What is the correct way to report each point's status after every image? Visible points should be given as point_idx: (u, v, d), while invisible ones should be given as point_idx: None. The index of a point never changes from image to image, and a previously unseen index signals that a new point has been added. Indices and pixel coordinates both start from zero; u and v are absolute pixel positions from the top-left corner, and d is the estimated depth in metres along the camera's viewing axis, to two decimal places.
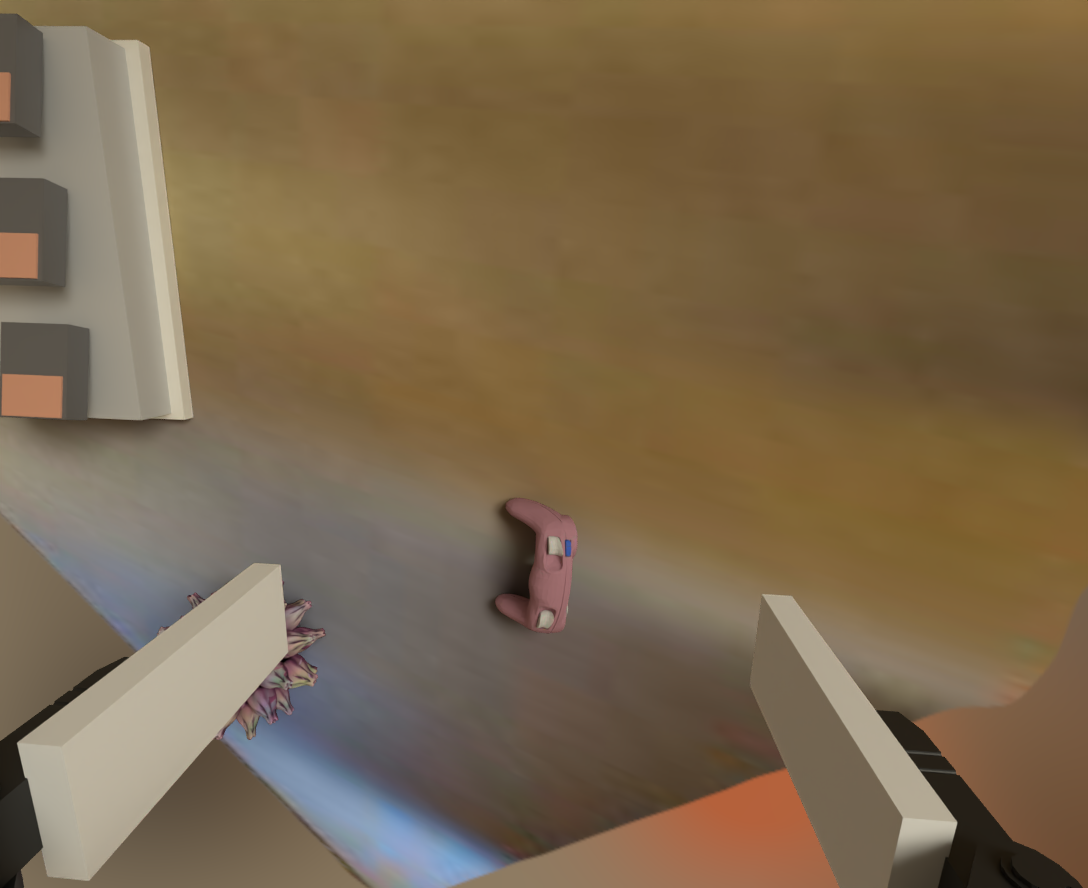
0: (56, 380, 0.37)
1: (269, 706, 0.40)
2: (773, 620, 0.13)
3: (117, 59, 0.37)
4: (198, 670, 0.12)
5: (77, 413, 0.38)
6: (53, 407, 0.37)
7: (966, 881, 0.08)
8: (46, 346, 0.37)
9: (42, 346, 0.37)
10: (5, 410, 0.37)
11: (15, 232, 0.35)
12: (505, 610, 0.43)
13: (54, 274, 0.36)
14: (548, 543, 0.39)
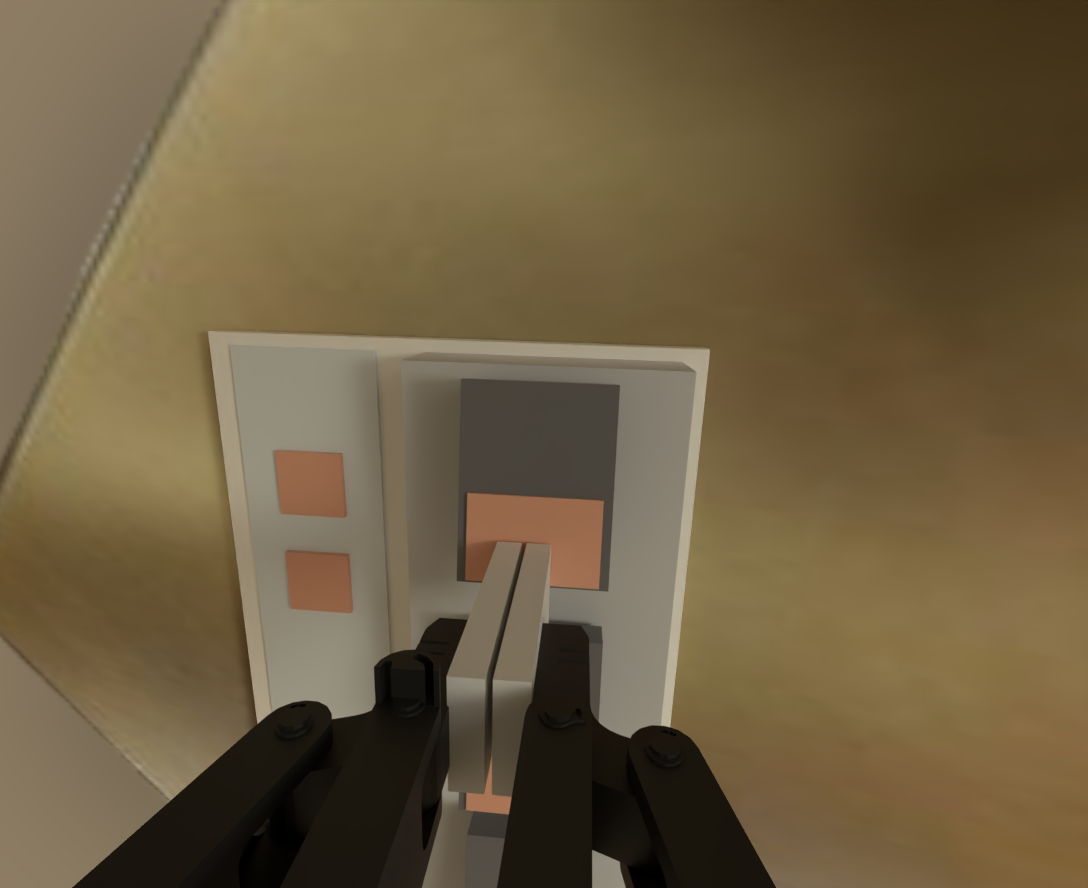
0: None
1: None
2: (523, 561, 0.16)
3: None
4: (505, 629, 0.14)
5: None
6: None
7: None
8: None
9: None
10: None
11: None
12: None
13: None
14: None
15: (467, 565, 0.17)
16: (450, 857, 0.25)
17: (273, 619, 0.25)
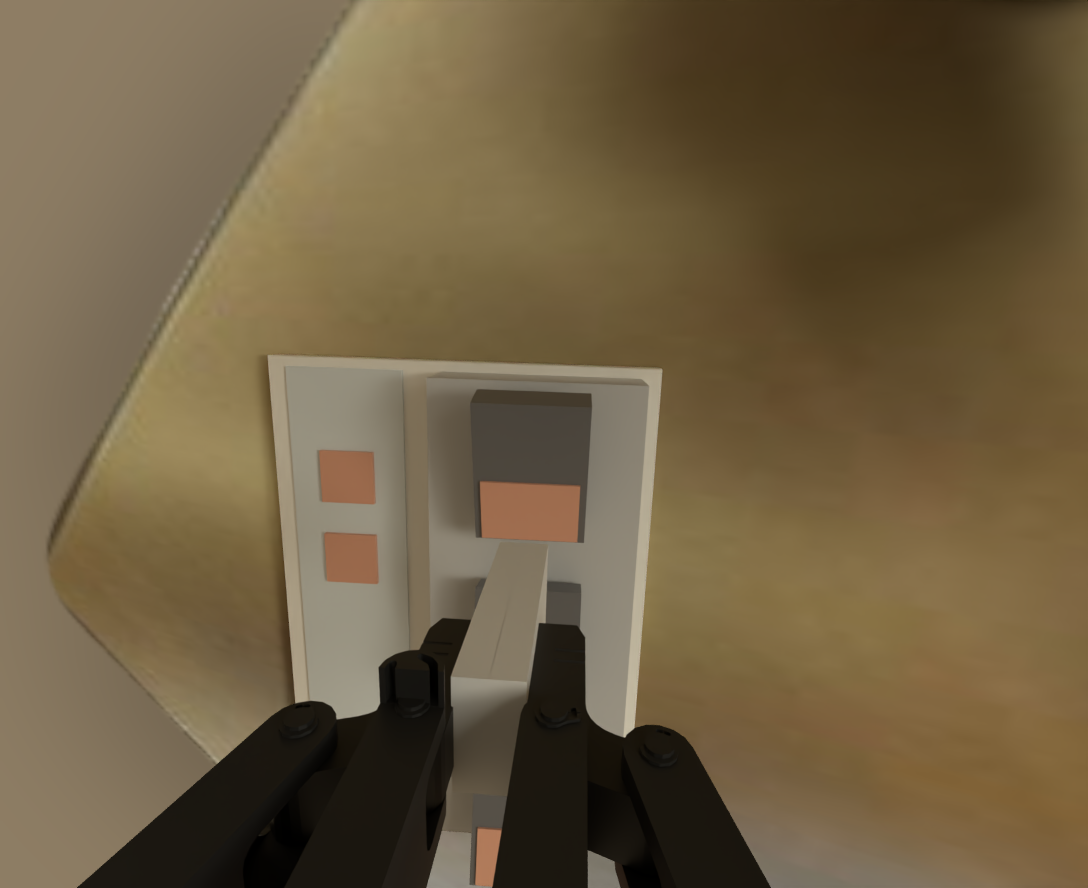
0: None
1: None
2: (520, 561, 0.16)
3: None
4: None
5: None
6: None
7: None
8: None
9: None
10: (478, 876, 0.27)
11: None
12: None
13: None
14: None
15: (482, 528, 0.24)
16: None
17: (311, 591, 0.31)
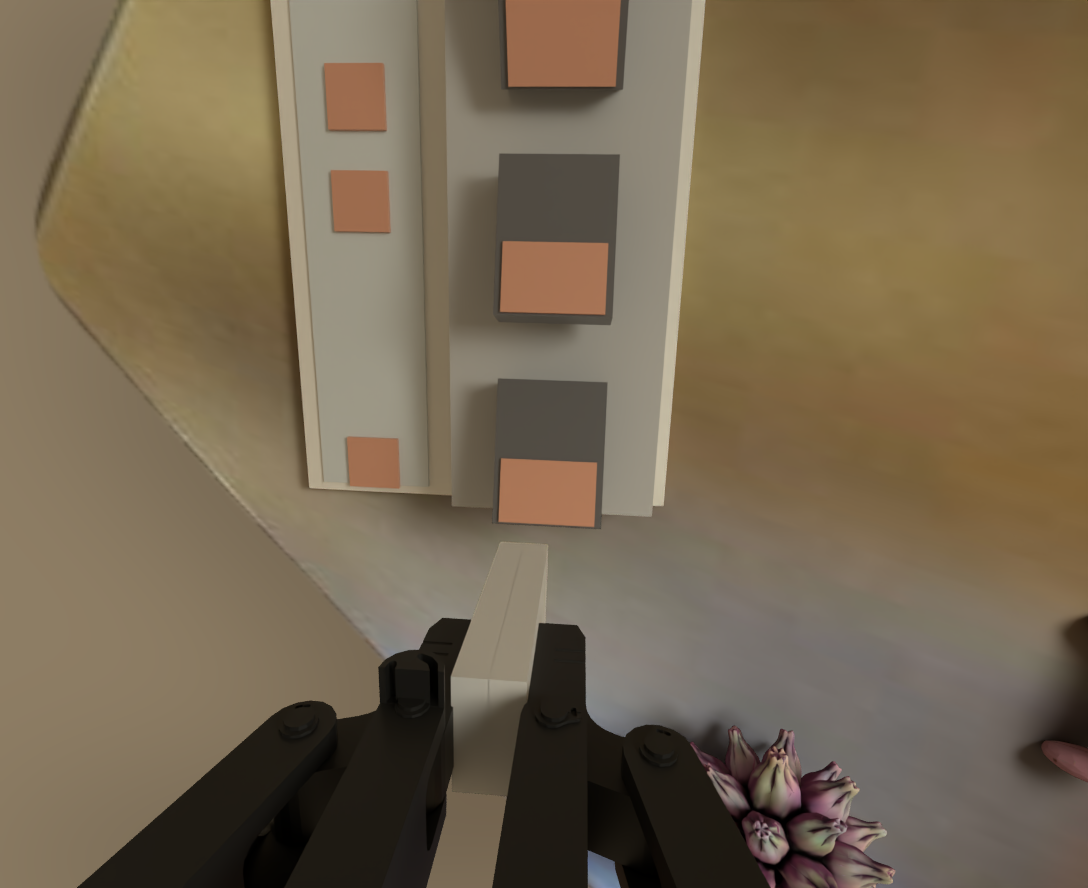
0: (588, 469, 0.24)
1: None
2: (520, 561, 0.16)
3: None
4: None
5: None
6: (583, 510, 0.24)
7: None
8: (571, 416, 0.24)
9: (565, 415, 0.24)
10: (501, 513, 0.24)
11: (568, 242, 0.22)
12: None
13: None
14: None
15: (509, 72, 0.21)
16: (479, 449, 0.27)
17: (317, 247, 0.28)
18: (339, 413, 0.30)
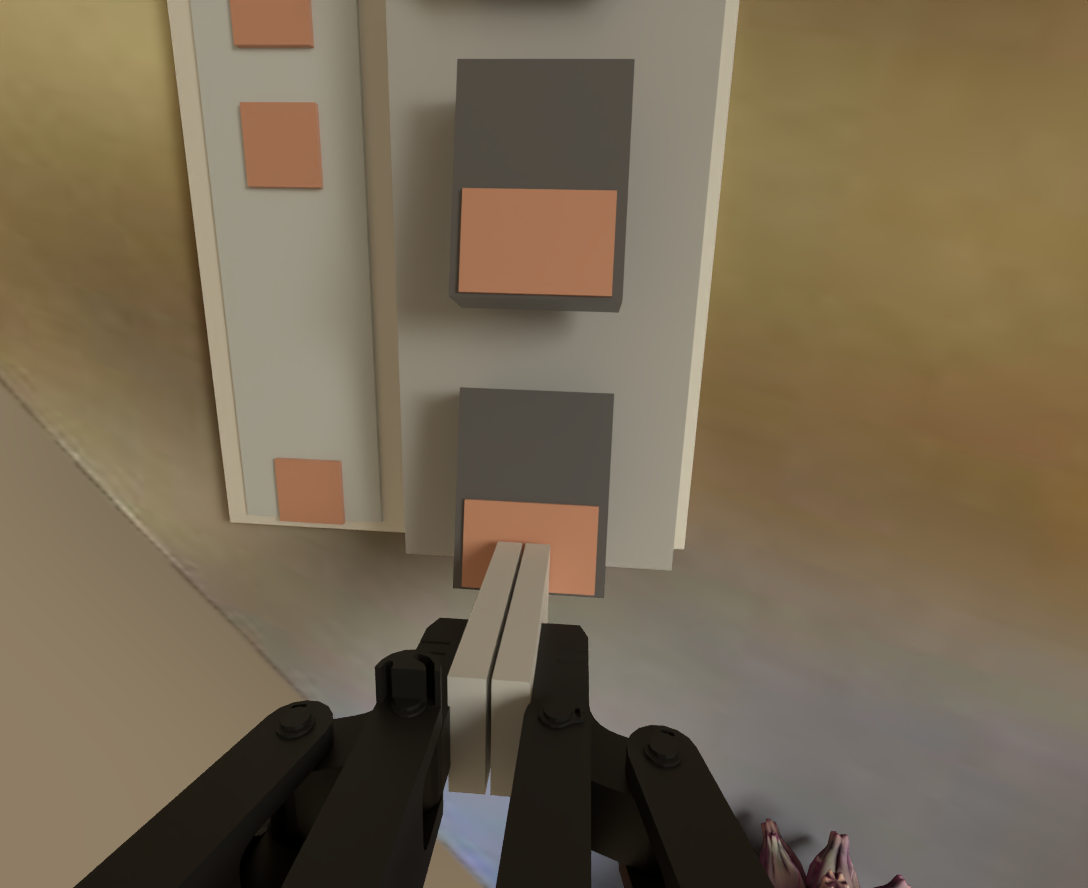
0: (586, 515, 0.17)
1: None
2: (522, 561, 0.16)
3: None
4: None
5: None
6: (579, 572, 0.17)
7: None
8: (562, 441, 0.17)
9: (554, 440, 0.17)
10: (466, 575, 0.18)
11: (559, 189, 0.15)
12: None
13: None
14: None
15: None
16: (440, 479, 0.20)
17: (227, 209, 0.21)
18: (264, 427, 0.23)
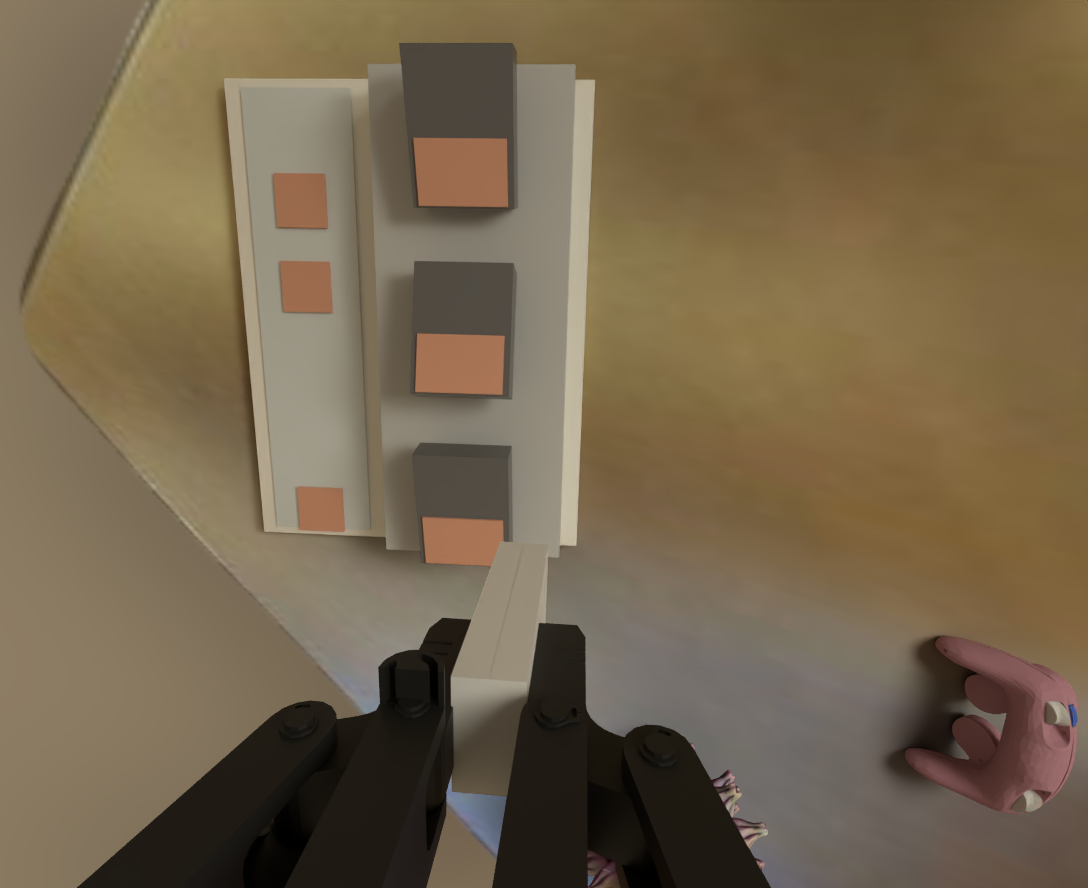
0: (496, 525, 0.29)
1: None
2: (520, 561, 0.16)
3: None
4: None
5: None
6: (494, 555, 0.29)
7: None
8: (478, 485, 0.28)
9: (473, 484, 0.28)
10: (428, 556, 0.30)
11: (472, 334, 0.26)
12: (938, 777, 0.35)
13: (511, 386, 0.27)
14: (1052, 712, 0.31)
15: (419, 194, 0.26)
16: (408, 500, 0.31)
17: (269, 324, 0.32)
18: (290, 466, 0.34)
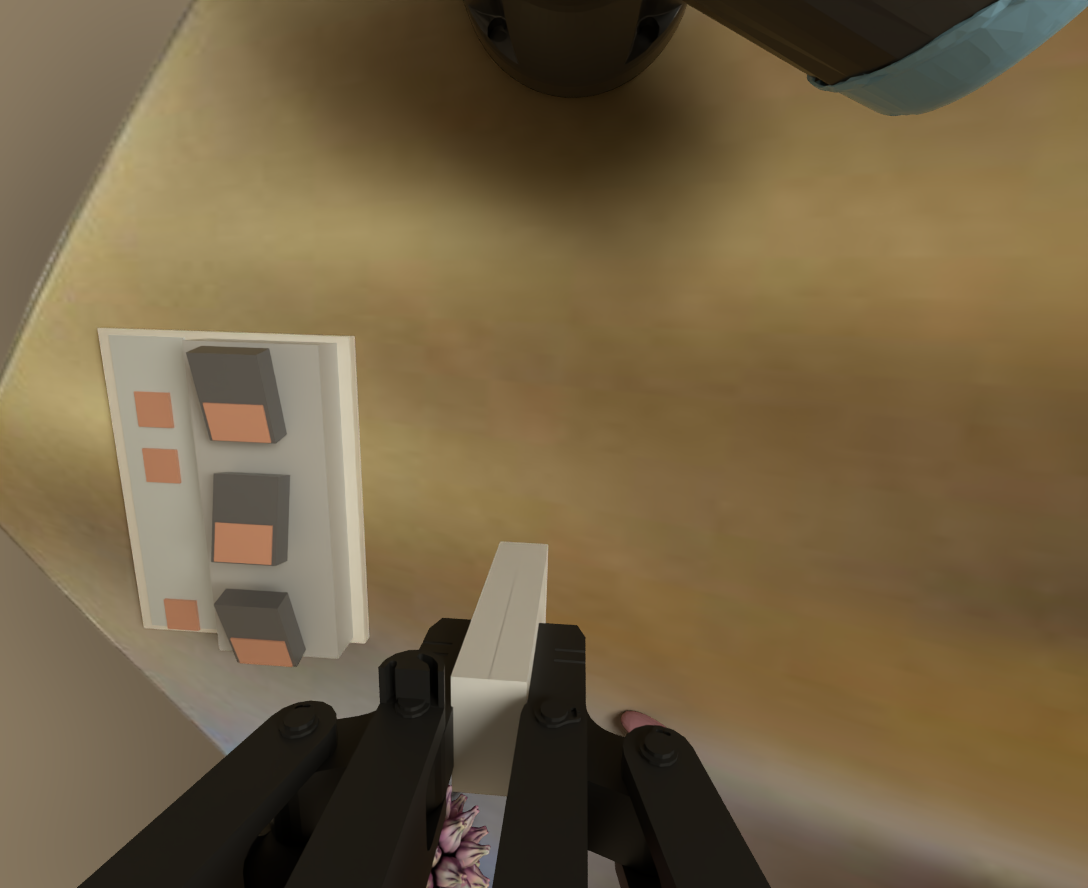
0: (280, 644, 0.42)
1: None
2: (519, 561, 0.16)
3: (332, 356, 0.41)
4: None
5: (300, 653, 0.44)
6: (283, 660, 0.43)
7: None
8: (262, 622, 0.41)
9: (259, 621, 0.41)
10: (241, 659, 0.43)
11: (251, 523, 0.39)
12: None
13: (282, 555, 0.40)
14: None
15: (212, 433, 0.39)
16: None
17: (138, 489, 0.45)
18: (158, 584, 0.47)
